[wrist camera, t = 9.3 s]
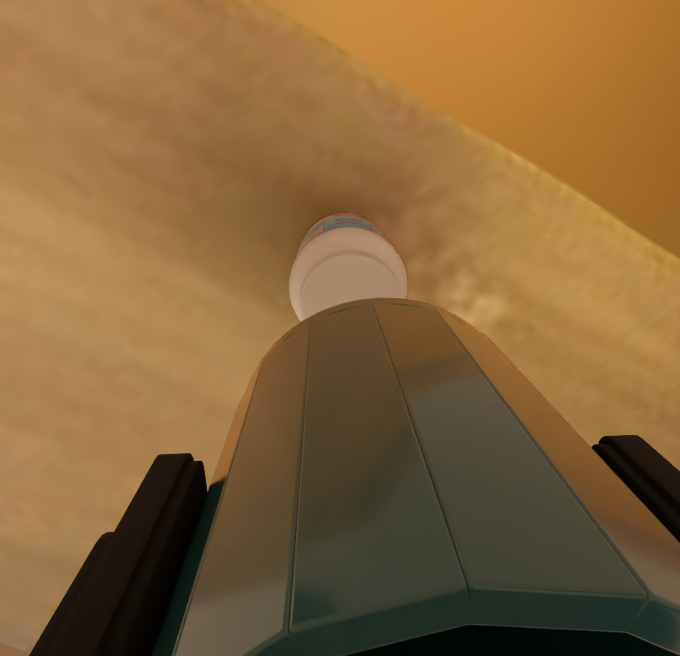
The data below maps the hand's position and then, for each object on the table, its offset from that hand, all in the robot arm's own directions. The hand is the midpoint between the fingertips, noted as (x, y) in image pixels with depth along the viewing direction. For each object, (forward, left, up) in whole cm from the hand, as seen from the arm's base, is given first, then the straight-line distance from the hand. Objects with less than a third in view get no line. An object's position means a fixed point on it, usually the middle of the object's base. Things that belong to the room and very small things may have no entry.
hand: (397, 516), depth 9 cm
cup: (0, 0, -3) cm, 3 cm away
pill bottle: (0, 0, -25) cm, 25 cm away
